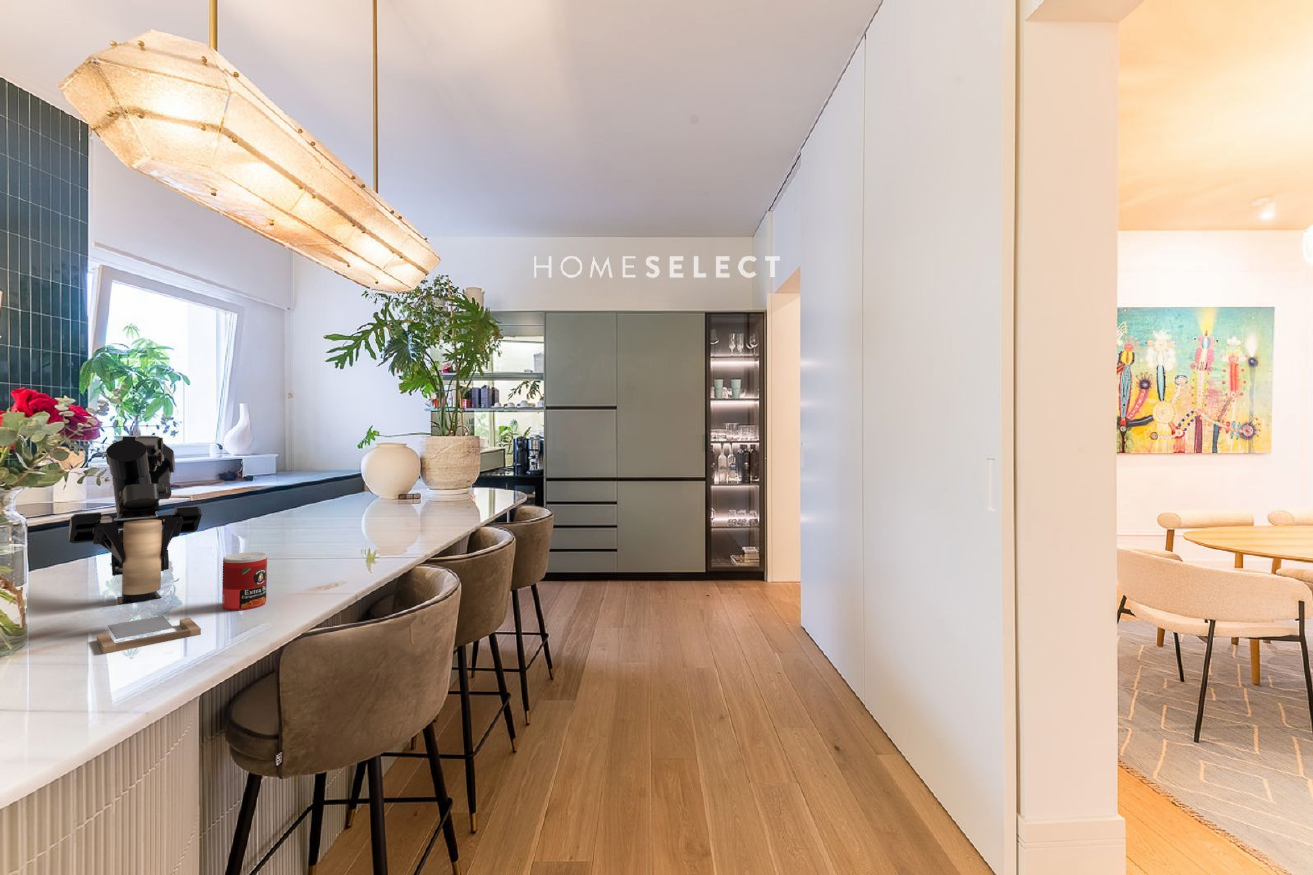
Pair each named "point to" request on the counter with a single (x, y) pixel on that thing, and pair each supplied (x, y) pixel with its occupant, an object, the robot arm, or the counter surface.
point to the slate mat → (140, 627)
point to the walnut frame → (148, 638)
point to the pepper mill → (142, 556)
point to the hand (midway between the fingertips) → (143, 559)
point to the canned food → (244, 581)
